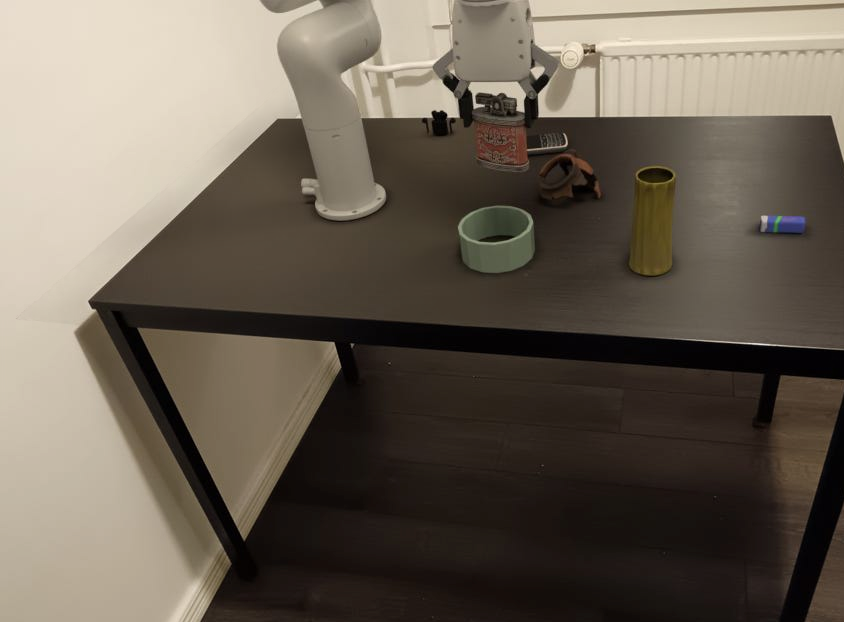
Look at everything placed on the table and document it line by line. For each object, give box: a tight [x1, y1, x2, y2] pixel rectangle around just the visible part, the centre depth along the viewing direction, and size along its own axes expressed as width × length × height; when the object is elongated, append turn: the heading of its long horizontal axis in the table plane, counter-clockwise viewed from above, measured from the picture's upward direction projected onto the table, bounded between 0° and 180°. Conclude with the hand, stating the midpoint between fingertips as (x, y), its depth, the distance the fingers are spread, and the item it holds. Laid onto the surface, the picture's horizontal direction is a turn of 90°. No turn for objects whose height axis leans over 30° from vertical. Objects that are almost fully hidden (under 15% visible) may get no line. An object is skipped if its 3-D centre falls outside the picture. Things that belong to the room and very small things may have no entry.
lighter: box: [472, 92, 530, 173], centre depth 103 cm, size 8×3×10 cm, turn 57°
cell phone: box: [526, 132, 569, 156], centre depth 142 cm, size 6×11×1 cm, turn 89°
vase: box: [628, 165, 677, 277], centre depth 105 cm, size 6×6×14 cm
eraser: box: [759, 215, 806, 234], centre depth 112 cm, size 2×6×2 cm, turn 74°
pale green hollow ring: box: [457, 205, 536, 274], centre depth 115 cm, size 11×11×5 cm
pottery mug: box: [537, 148, 602, 201], centre depth 126 cm, size 12×10×8 cm
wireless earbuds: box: [421, 109, 457, 136], centre depth 151 cm, size 7×2×5 cm, turn 75°
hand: (499, 123), depth 102 cm, fingers closed on lighter, 8 cm apart
